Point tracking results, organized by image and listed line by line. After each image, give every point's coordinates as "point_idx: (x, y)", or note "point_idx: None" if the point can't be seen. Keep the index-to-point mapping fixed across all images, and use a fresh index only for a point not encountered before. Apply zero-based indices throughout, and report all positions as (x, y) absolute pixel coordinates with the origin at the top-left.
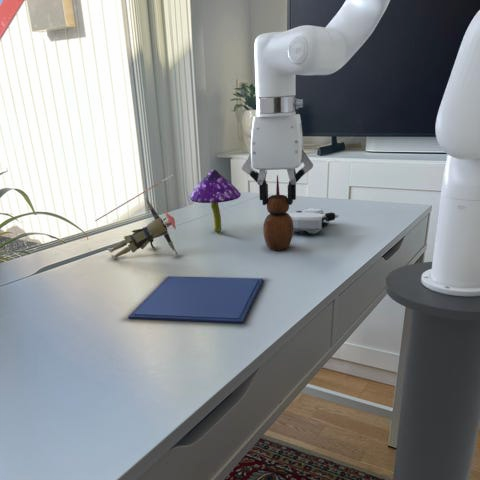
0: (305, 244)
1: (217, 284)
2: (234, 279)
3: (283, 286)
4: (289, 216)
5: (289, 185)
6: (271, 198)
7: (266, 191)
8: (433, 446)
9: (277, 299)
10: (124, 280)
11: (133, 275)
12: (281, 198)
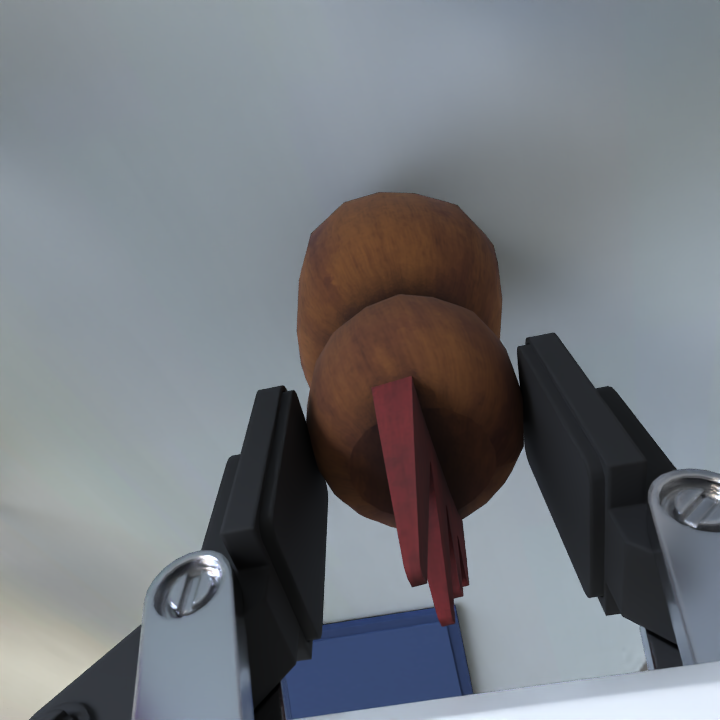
0: (531, 139)
1: (338, 671)
2: (369, 637)
3: (530, 620)
4: (493, 331)
5: (615, 607)
6: (380, 520)
7: (310, 544)
8: None
9: (532, 678)
10: (30, 685)
11: (14, 658)
12: (479, 506)
